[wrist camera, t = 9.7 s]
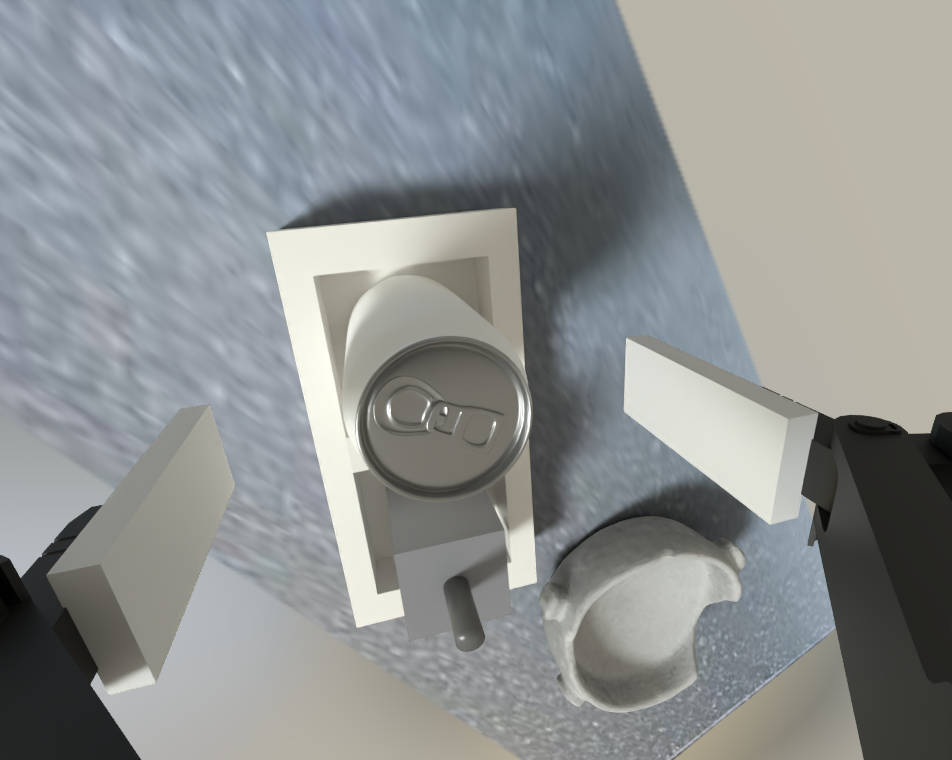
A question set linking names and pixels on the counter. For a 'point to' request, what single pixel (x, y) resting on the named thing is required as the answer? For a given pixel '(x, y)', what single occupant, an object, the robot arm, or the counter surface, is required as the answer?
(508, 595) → the seated block
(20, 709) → the robot arm
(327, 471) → the white flat tray
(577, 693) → the dish
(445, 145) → the counter surface
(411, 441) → the can
